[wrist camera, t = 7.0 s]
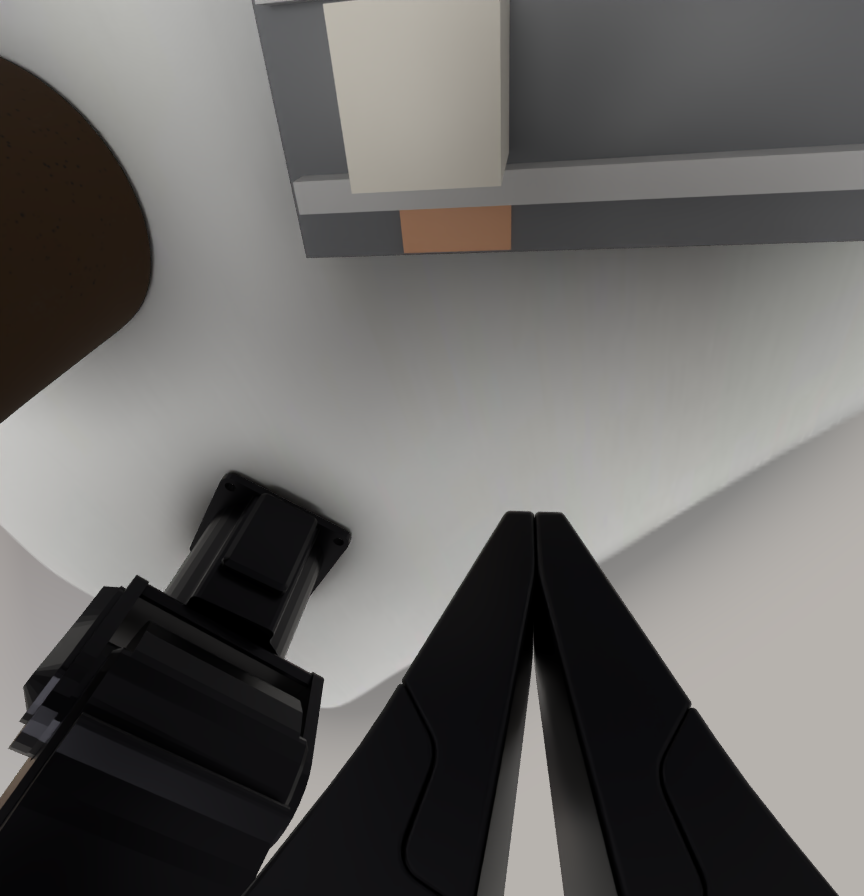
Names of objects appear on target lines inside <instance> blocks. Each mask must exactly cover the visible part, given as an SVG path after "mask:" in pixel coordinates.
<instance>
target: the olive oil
mask: <svg viewBox="0 0 864 896" xmlns="http://www.w3.org/2000/svg"><path fill="white" fill-rule="evenodd" d="M150 271H151V255H150V245H149V239H148V234H147V229H146V225H145V222H144V218H143V215H142V212H141V209H140V206H139V204H138V201H137V199H136V197H135V194H134V192H133V190H132V188H131V186H130V184H129V182H128V180H127V178H126V176H125V174H124V172H123V171H122V169H121V167H120V166H119V164H118V162H117V161H116V159H115V158H114V156H113V155H112V153H111V152H110V150H109V149H108V148H107V146H106V145H105V143H104V142H103V141H102V139H101V138H100V137H99V136H98V134H97V133H96V132H95V131H94V130H93V128H92V127H91V126H90V125H89V124H88V123H87V122H86V120H85V119H84V118H83V117H82V116H81V115H80V114H79V113H78V112H77V111H76V110H75V109H74V108H73V107H72V106H71V105H70V104H69V103H68V102H67V101H65V100H64V99H63V98H62V97H61V96H60V95H59V94H57V93H56V92H55V91H54V90H52V89H51V88H50V87H49V86H47V85H46V84H45V83H43V82H42V81H41V80H39V79H38V78H36V77H35V76H33V75H32V74H30V73H29V72H27V71H25V70H24V69H22V68H20V67H18V66H17V65H15V64H13V63H11V62H9V61H7V60H5V59H3V58H0V423H2V422H3V421H4V420H5V419H7V418H8V417H9V416H10V415H11V414H13V413H14V412H15V411H16V410H18V409H19V408H20V407H21V406H23V405H24V404H25V403H26V402H28V401H29V400H30V399H31V398H33V397H34V396H35V395H36V394H38V393H39V392H40V391H41V390H43V389H44V388H45V387H47V386H48V385H49V384H50V383H52V382H53V381H54V380H56V379H57V378H58V377H59V376H61V375H62V374H63V373H65V372H66V371H67V370H68V369H70V368H71V367H72V366H74V365H75V364H76V363H78V362H79V361H80V360H81V359H83V358H84V357H85V356H87V355H88V354H89V353H90V352H92V351H93V350H94V349H96V348H97V347H98V346H99V345H101V344H102V343H103V342H105V341H106V340H107V339H108V338H110V337H111V336H112V335H114V334H115V333H116V332H117V331H119V330H120V329H121V328H122V327H123V326H124V325H126V324H127V323H128V322H129V321H130V320H131V319H132V317H133V316H134V315H135V314H136V312H137V311H138V309H139V308H140V306H141V304H142V302H143V300H144V298H145V295H146V292H147V289H148V285H149V280H150Z"/></svg>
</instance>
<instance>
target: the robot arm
mask: <svg viewBox="0 0 864 896" xmlns="http://www.w3.org/2000/svg"><path fill="white" fill-rule="evenodd" d="M231 483H232V484H233V485H232V484H231ZM339 538H340V539H339ZM350 540H351V535H350V533H349V532H348V531H346V530H345V529H343V528H341V527H339V526H337V525H335V524H333V523H331V522H329V521H327V520H325V519H323V518H321V517H319V516H317V515H315V514H313V513H311V512H309V511H308V510H306V509H304V508H302V507H300V506H298V505H296V504H294V503H292V502H290V501H288V500H286V499H284V498H282V497H280V496H278V495H276V494H274V493H272V492H270V491H269V490H267V489H265V488H263V487H261V486H259V485H257V484H255V483H253V482H251V481H249V480H247V479H245V478H243V477H241V476H239V475H237V474H234V473H227V474H225V476H224V477H223V478H222V480H221V481H220V483H219V485H218V487H217V489H216V492H215V494H214V496H213V498H212V500H211V503H210V505H209V507H208V509H207V511H206V514H205V516H204V518H203V520H202V522H201V524H200V527H199V529H198V531H197V533H196V535H195V538H194V540H193V542H192V544H191V546H190V551H191V552H190V554H189V555H188V557H187V558H186V560H185V561H184V563H183V564H182V566H181V567H180V569H179V570H178V572H177V573H176V575H175V576H174V578H173V579H172V581H171V582H170V584H169V585H168V587H167V588H166V590H165V591H164V592H162V591H160V590H158V589H156V588H155V587H153V586H151V585H149V584H148V583H149V581H147V580H145V579H143V578H142V577H140V576H138V575H136V576H135V578H134V579H133V580H132V582H131V583H130V584H129V586H128V587H127V588H124V587H122V586H121V587H106V586H104V587H103V588H102V589H101V590H100V592H99V593H98V594H97V596H96V597H95V598H94V599H93V601H92V602H91V603H90V605H89V606H88V607H87V608H86V610H85V611H84V612H83V614H82V615H81V616H80V617H79V619H78V620H77V621H76V622H75V623H74V625H73V626H72V627H71V628H70V630H69V631H68V632H67V633H66V634H65V636H64V637H63V638H62V639H61V641H60V642H59V643H58V644H57V645H56V647H55V648H54V649H53V650H52V652H51V653H50V654H49V655H48V656H47V658H46V659H45V660H44V661H43V663H42V664H41V665H40V666H39V667H38V668H37V670H36V671H35V672H34V673H33V675H32V676H31V677H30V679H29V680H28V681H27V682H26V684H25V685H24V687H23V689H24V695H25V702H26V708H27V712H26V713H25V714H24V716H23V717H22V718H21V720H20V722H22V723H24V724H25V726H24V727H23V728H22V730H21V731H20V733H19V734H18V735H17V737H16V738H15V739H14V741H13V742H12V744H11V745H10V746H9V749H11V750H13V751H15V752H18V753H20V754H22V755H25V756H28V757H29V758H28V760H27V761H26V762H25V764H24V765H23V766H22V768H21V769H20V771H19V772H18V773H17V775H16V776H15V778H14V779H13V781H12V782H11V783H10V785H9V786H8V788H7V789H6V791H5V792H4V794H3V795H2V796H1V797H0V896H504V888H505V881H506V873H507V864H508V857H509V849H510V840H511V832H512V824H513V816H514V808H515V800H516V792H517V784H518V776H519V767H520V758H521V751H522V743H523V735H524V726H525V719H526V711H527V703H528V695H529V686H530V678H531V669H532V658H533V645H534V662H535V672H536V681H537V689H538V695H539V704H540V711H541V720H542V727H543V735H544V743H545V750H546V758H547V766H548V774H549V781H550V789H551V797H552V805H553V812H554V819H555V828H556V835H557V843H558V851H559V858H560V867H561V874H562V882H563V890H564V896H839V895H838V894H837V893H836V892H835V891H834V889H833V888H832V887H831V886H830V884H829V883H828V882H827V881H826V880H825V878H824V877H823V876H822V875H821V874H820V872H819V871H818V870H817V869H816V867H815V866H814V865H813V864H812V862H811V861H810V860H809V859H808V858H807V856H806V855H805V854H804V853H803V852H802V850H801V849H800V848H799V847H798V845H797V844H796V843H795V842H794V841H793V839H792V838H791V837H790V836H789V835H788V833H787V832H786V831H785V829H784V828H783V827H782V826H781V824H780V823H779V822H778V821H777V819H776V818H775V817H774V815H773V814H772V813H771V812H770V810H769V809H768V808H767V807H766V805H765V804H764V803H763V802H762V800H761V799H760V798H759V796H758V795H757V794H756V793H755V791H754V790H753V789H752V788H751V787H750V785H749V784H748V782H747V781H746V780H745V778H744V777H743V776H742V774H741V773H740V771H739V770H738V769H737V767H736V766H735V765H734V763H733V762H732V760H731V759H730V757H729V756H728V755H727V753H726V752H725V750H724V749H723V748H722V746H721V745H720V744H719V742H718V741H717V739H716V738H715V736H714V735H713V733H712V732H711V730H710V729H709V728H708V726H707V724H706V723H705V721H704V720H703V718H702V717H701V715H700V714H699V713H698V711H697V710H696V709H695V708H690V707H691V701H690V700H689V698H688V697H687V695H686V694H685V692H684V691H683V689H682V688H681V686H680V685H679V684H678V682H677V681H676V679H675V678H674V676H673V675H672V673H671V672H670V670H669V669H668V667H667V666H666V664H665V663H664V661H663V660H662V658H661V657H660V656H659V654H658V652H657V651H656V649H655V648H654V647H653V645H652V644H651V642H650V641H649V639H648V638H647V636H646V635H645V633H644V632H643V630H642V629H641V627H640V626H639V624H638V623H637V621H636V620H635V618H634V617H633V615H632V614H631V613H630V611H629V610H628V608H627V607H626V605H625V604H624V602H623V601H622V599H621V598H620V596H619V595H618V593H617V592H616V591H615V589H614V587H613V586H612V585H611V583H610V582H609V580H608V579H607V577H606V576H605V574H604V573H603V571H602V570H601V568H600V567H599V565H598V564H597V562H596V561H595V559H594V558H593V556H592V555H591V553H590V552H589V550H588V549H587V548H586V546H585V545H584V543H583V542H582V540H581V539H580V537H579V536H578V534H577V533H576V531H575V530H574V528H573V527H572V525H571V524H570V522H569V521H568V519H567V518H566V517H565V515H564V514H562V513H560V512H537V513H536V514H535V517H534V514H533V513H532V512H530V511H508V512H506V513H505V514H504V516H503V517H502V519H501V521H500V522H499V524H498V525H497V527H496V529H495V530H494V532H493V533H492V535H491V537H490V538H489V540H488V542H487V543H486V545H485V546H484V548H483V550H482V551H481V553H480V554H479V556H478V558H477V559H476V561H475V563H474V564H473V566H472V567H471V569H470V571H469V572H468V574H467V575H466V577H465V579H464V580H463V582H462V584H461V585H460V587H459V588H458V590H457V592H456V593H455V595H454V596H453V598H452V600H451V601H450V603H449V605H448V606H447V608H446V609H445V611H444V613H443V614H442V616H441V617H440V619H439V621H438V622H437V624H436V626H435V627H434V629H433V630H432V632H431V634H430V635H429V637H428V638H427V640H426V642H425V643H424V645H423V647H422V648H421V650H420V651H419V653H418V655H417V656H416V658H415V659H414V661H413V663H412V664H411V666H410V668H409V669H408V671H407V672H406V674H405V676H404V677H403V679H402V683H403V684H399V685H398V686H397V688H396V690H395V691H394V693H393V695H392V696H391V698H390V699H389V701H388V703H387V704H386V706H385V708H384V709H383V711H382V712H381V714H380V715H379V717H378V718H377V720H376V721H375V723H374V724H373V726H372V727H371V729H370V730H369V732H368V733H367V735H366V736H365V738H364V739H363V741H362V742H361V744H360V745H359V747H358V748H357V749H356V750H355V752H354V753H353V755H352V756H351V757H350V758H349V760H348V761H347V763H346V764H345V765H344V766H343V768H342V769H341V770H340V772H339V773H338V774H337V776H336V777H335V779H334V780H333V781H332V782H331V784H330V785H329V786H328V788H327V789H326V790H325V791H324V793H323V794H322V795H321V796H320V798H319V799H318V800H317V801H316V803H315V804H314V805H313V806H312V808H311V809H310V810H309V811H308V813H307V814H306V815H305V817H304V818H303V819H302V820H301V822H300V823H299V824H298V825H297V827H296V828H295V829H294V830H293V832H292V833H291V834H290V836H289V837H288V838H287V839H286V841H285V842H284V843H283V844H282V846H281V847H280V848H279V849H278V851H277V852H276V853H275V854H274V856H273V857H272V858H271V859H270V861H269V862H268V863H267V864H266V866H265V867H264V868H263V869H262V871H261V872H260V873H259V875H258V876H257V873H258V871H259V869H260V867H261V865H262V863H263V861H264V859H265V856H266V855H267V853H268V851H269V849H270V848H271V847H272V846H273V845H274V844H275V843H276V842H277V841H278V839H279V838H280V836H281V835H282V834H283V833H284V831H285V830H286V828H287V826H288V825H289V823H290V821H291V820H292V818H293V816H294V814H295V812H296V810H297V808H298V806H299V804H300V801H301V799H302V796H303V794H304V791H305V789H306V785H307V782H308V779H309V775H310V770H311V766H312V759H313V752H314V745H315V738H316V731H317V724H318V717H319V711H320V704H321V697H322V690H323V683H324V678H323V677H321V676H319V675H317V674H316V673H314V672H312V673H309V672H307V671H305V670H304V669H302V668H300V667H298V666H296V665H294V664H293V663H291V662H289V661H287V660H285V659H284V658H285V655H286V653H287V651H288V648H289V646H290V643H291V641H292V638H293V636H294V633H295V631H296V628H297V626H298V623H299V621H300V618H301V616H302V614H303V611H304V609H305V606H306V604H307V601H308V599H309V597H310V595H311V594H312V593H313V591H314V590H315V589H316V588H317V586H318V585H319V584H320V582H321V581H322V580H323V578H324V577H325V576H326V575H327V573H328V572H329V571H330V569H331V568H332V567H333V565H334V564H335V563H336V562H337V560H338V559H339V558H340V556H341V555H342V554H343V553H344V551H345V550H346V549H347V547H348V545H349V543H350ZM256 876H257V877H256Z"/></svg>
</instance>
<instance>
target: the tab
mask: <svg viewBox="0 0 864 896" xmlns="http://www.w3.org/2000/svg"><path fill="white" fill-rule="evenodd" d="M323 9H324V16H325V22H326V29H327V35H328V42H329V48H330V55H331V61H332V68H333V74H334V81H335V88H336V94H337V101H338V107H339V114H340V120H341V127H342V133H343V140H344V146H345V153H346V159H347V166H348V172H349V179H350V185H351V192H352V194H357V193H376V192H396V191H415V190H435V189H455V188H474V187H494V186H501V183H502V179H503V175H504V171H505V167H506V163H507V159H508V155H509V36H510V0H352V1H343V2H334V3H326V4H323Z"/></svg>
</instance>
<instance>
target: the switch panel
mask: <svg viewBox="0 0 864 896" xmlns="http://www.w3.org/2000/svg"><path fill="white" fill-rule="evenodd" d="M343 1H352V0H252V4H253V9H254V13H255V18H256V23H257V27H258V32H259V37H260V42H261V46H262V51H263V56H264V60H265V65H266V70H267V74H268V79H269V84H270V89H271V93H272V98H273V103H274V107H275V112H276V117H277V122H278V126H279V131H280V136H281V140H282V145H283V150H284V154H285V159H286V164H287V169H288V173H289V178H290V183H291V187H292V192H293V197H294V201H295V206H296V211H297V216H298V220H299V225H300V230H301V234H302V239H303V244H304V249H305V253H306V258H323V257H356V256H388V255H420V254H453V253H485V252H517V251H549V250H582V249H614V248H646V247H679V246H711V245H743V244H776V243H808V242H840V241H864V0H510V36H509V155H508V159H507V163H506V167H505V171H504V175H503V179H502V183H501V186H494V187H474V188H455V189H435V190H415V191H396V192H376V193H357V194H352V192H351V185H350V179H349V172H348V166H347V159H346V153H345V146H344V140H343V133H342V127H341V120H340V114H339V107H338V101H337V94H336V88H335V81H334V74H333V68H332V61H331V55H330V48H329V42H328V35H327V29H326V22H325V16H324V9H323V4H326V3H334V2H343Z"/></svg>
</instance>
